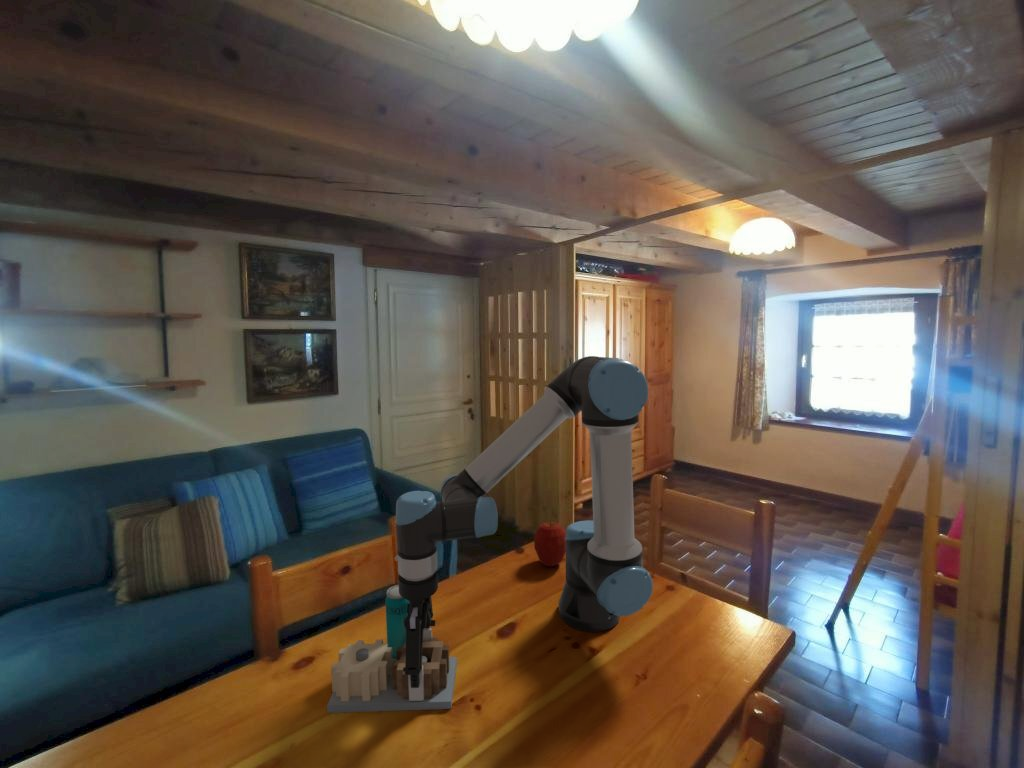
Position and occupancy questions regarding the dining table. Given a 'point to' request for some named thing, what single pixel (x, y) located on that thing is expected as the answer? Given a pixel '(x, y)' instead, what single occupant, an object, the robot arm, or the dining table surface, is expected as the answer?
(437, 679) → the walnut gear
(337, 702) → the gear board
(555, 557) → the apple
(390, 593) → the beverage can
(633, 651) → the dining table surface
